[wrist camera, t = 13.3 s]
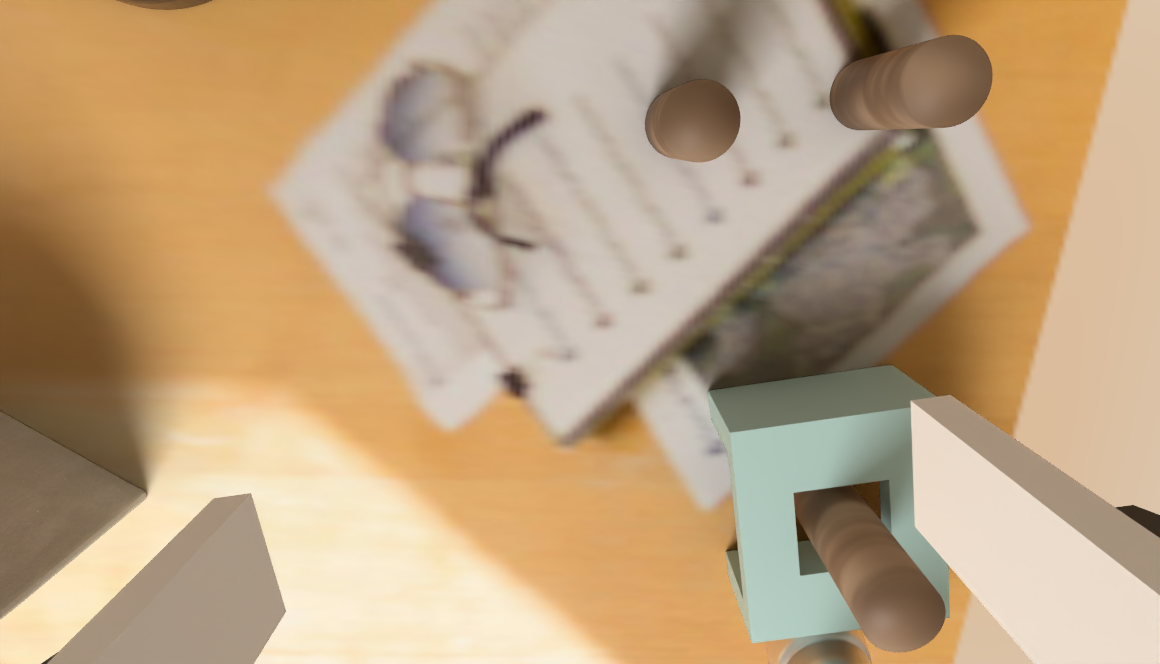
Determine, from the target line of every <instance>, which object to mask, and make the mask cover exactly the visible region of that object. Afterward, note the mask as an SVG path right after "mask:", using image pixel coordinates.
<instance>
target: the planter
mask: <svg viewBox="0 0 1160 664" xmlns="http://www.w3.org/2000/svg"><path fill="white" fill-rule="evenodd" d="M146 497H147V494H146V493H145V491H144V490H142V489H140V488H138V487H136V486H134V485H132V484H130V483H129V482H127V481H125V480H123V479H121V478H120V477H118V476H116V475H114V474H112V473H111V472H109V471H107V470H105V469H103V468H102V467H100V466H98V465H96V464H94V463H93V462H91V461H89V460H87V459H85V458H84V457H82V456H80V455H78V454H76V453H75V452H73V451H71V450H69V449H67V448H66V447H64V446H62V445H60V444H59V443H57V442H55V441H53V440H51V439H50V438H48V437H46V436H44V435H42V434H41V433H39V432H37V431H35V430H33V429H32V428H30V427H28V426H26V425H24V424H23V423H21V422H19V421H17V420H15V419H14V418H12V417H10V416H8V415H6V414H5V413H3V412H1V411H0V620H1V619H2V618H3V617H4V616H6V615H7V614H8V613H9V612H11V611H12V610H13V609H14V608H16V607H17V606H18V605H19V604H21V603H22V602H23V601H24V600H25V599H27V598H28V597H29V596H30V595H31V594H33V593H34V592H35V591H36V590H37V589H39V588H40V587H41V586H42V585H43V584H45V583H46V582H47V581H48V580H49V579H51V578H52V577H53V576H54V575H55V574H57V573H58V572H59V571H60V570H61V569H63V568H64V567H65V566H66V565H67V564H68V563H70V562H71V561H72V560H73V559H74V558H76V557H77V556H78V555H79V554H80V553H82V552H83V551H84V550H85V549H86V548H88V547H89V546H90V545H91V544H92V543H94V542H95V541H96V540H97V539H98V538H100V537H101V536H102V535H103V534H104V533H106V532H107V531H108V530H109V529H110V528H112V527H113V526H114V525H115V524H116V523H118V522H119V521H120V520H121V519H122V518H124V517H125V516H126V515H127V514H128V513H130V512H131V511H132V510H133V509H134V508H136V507H137V506H138V505H139V504H140V503H142V502H143V501H144V500H145V499H146Z"/></svg>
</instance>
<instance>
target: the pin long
mask: <svg viewBox="0 0 1160 664" xmlns="http://www.w3.org/2000/svg"><path fill="white" fill-rule="evenodd" d="M793 494H794V507H795V515H796V517H797V519H798V520H799V522H800V524H801V526H802V527H803V529H804V531H805V532H806V534H807V536H808V538H809V539H810V541H811V543H812V545H813V546H814V548H815V550H816V551H817V553H818V555H819V557H820V558H821V560H822V562H823V564H824V565H825V567H826V569H827V570H828V572H829V574H830V576H831V577H832V579H833V581H834V582H835V584H836V586H837V588H838V589H839V591H840V593H841V595H842V596H843V598H844V600H845V601H846V603H847V605H848V607H849V608H850V610H851V612H852V614H853V615H854V617H855V619H856V620H857V622H858V624H859V626H860V627H861V629H862V631H863V632H864V634H865V636H866V637H867V639H868V640H869V641H870V642H871V643H872V644H873V645H875V646H876V647H878V648H880V649H882V650H885V651H889V652H899V653H900V652H908V651H912V650H916V649H918V648H920V647H922V646H924V645H926V644H927V643H929V642H930V641H931V640H932V639H933V638H934V637H935V636H936V635H937V634H938V633H939V631H940V630H941V628H942V626H943V623H944V620H945V613H946V610H945V604H944V601H943V599H942V597H941V596H940V594H939V593H938V591H937V590H936V589H935V588H934V586H933V585H932V584H931V583H930V581H929V580H928V579H927V578H926V576H925V575H924V574H923V573H922V571H921V570H920V569H919V568H918V566H917V565H916V564H915V563H914V561H913V560H912V559H911V558H910V556H909V555H908V554H907V552H906V551H905V550H904V549H903V547H902V546H901V545H900V544H899V542H898V541H897V540H896V539H895V537H894V536H893V535H892V534H891V532H890V531H889V530H888V529H887V527H886V526H885V525H884V524H883V522H882V521H881V520H880V519H879V517H878V516H877V515H876V514H875V512H874V511H873V510H872V508H871V507H870V506H869V505H868V503H867V502H866V501H865V500H864V498H863V497H862V496H861V495H860V493H859V492H858V491H857V490H856V488H855V487H854V486H853V485H847V486H840V487H832V488H825V489H818V490H811V491H803V492H796V493H793Z"/></svg>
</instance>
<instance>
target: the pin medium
mask: <svg viewBox="0 0 1160 664" xmlns="http://www.w3.org/2000/svg"><path fill="white" fill-rule="evenodd" d="M991 84H992V67H991V62H990V60H989V57H988V55H987V53H986V52H985V50H984V49H983V48H982V47H981V46H980V45H979V44H978V43H977V42H975V41H974V40H972V39H970V38H967V37H965V36H960V35H949V36H943V37H939V38H936V39H932V40H929V41H925V42H922V43H918V44H914V45H911V46H907V47H904V48H900V49H897V50H893V51H889V52H886V53H882V54H879V55H875V56H872V57H868V58H864V59H861V60H857V61H855V62H852V63H850V64H849V65H847V66H846V67H845V68H843V69H842V70H841V71H840V72H839V74H838V75H837V76H836V78H835V80H834V82H833V84H832V87H831V91H830V105H831V109H832V112H833V114H834V116H835V117H836V118H837V120H838V121H839V122H840V123H841V124H843V125H844V126H846V127H848V128H850V129H854V130H884V129H917V128H946V127H952V126H956V125H959V124H961V123H963V122H965V121H967V120H968V119H970V118H971V117H972V116H973V115H975V114H976V113H977V112H978V111H979V110H980V108H981V107H982V106H983V104H984V102H985V101H986V99H987V97H988V95H989V92H990V89H991Z"/></svg>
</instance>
